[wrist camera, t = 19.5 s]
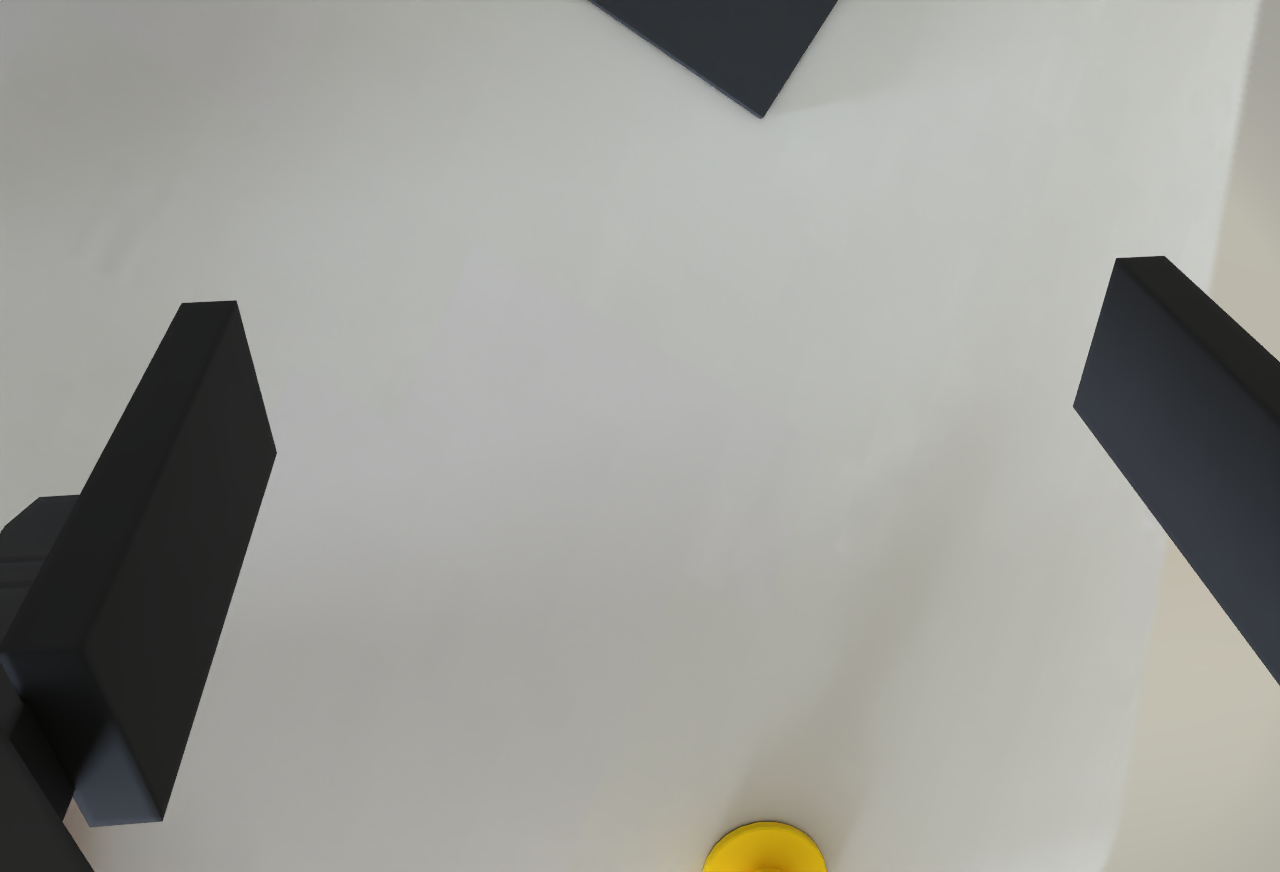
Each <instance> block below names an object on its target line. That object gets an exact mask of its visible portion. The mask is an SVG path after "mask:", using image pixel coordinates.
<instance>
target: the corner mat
mask: <svg viewBox="0 0 1280 872" xmlns="http://www.w3.org/2000/svg"><path fill="white" fill-rule="evenodd" d="M589 1H590V2H592V3H593V4H595V5H596V6H597V7H599V8H600V9H602V10H603V11H605V12H606V13H608V14H609V15H610V16H612V17H613V18H615V19H616V20H618V21H619V22H621V23H622V24H624V25H625V26H626V27H628V28H629V29H631V30H632V31H634V32H635V33H637V34H638V35H639V36H641V37H642V38H644V39H645V40H647V41H648V42H650V43H651V44H653V45H654V46H655V47H657V48H658V49H660V50H661V51H663V52H664V53H666V54H667V55H669V56H670V57H671V58H673V59H674V60H676V61H677V62H679V63H680V64H682V65H683V66H684V67H686V68H687V69H689V70H690V71H692V72H693V73H695V74H696V75H698V76H699V77H700V78H702V79H703V80H705V81H706V82H708V83H709V84H711V85H712V86H714V87H715V88H716V89H718V90H719V91H721V92H722V93H724V94H725V95H727V96H728V97H729V98H731V99H732V100H734V101H735V102H737V103H738V104H740V105H741V106H743V107H744V108H745V109H747V110H748V111H750V112H751V113H753V114H754V115H756V116H757V117H758V118H760V119H761V118H763V117H764V115H765V114H766V112H767V111H768V109H769V108H770V106H771V104H772V103H773V101H774V100H775V98H776V97H777V95H778V93H779V92H780V90H781V89H782V87H783V86H784V84H785V82H786V81H787V79H788V78H789V76H790V75H791V73H792V71H793V70H794V68H795V67H796V65H797V64H798V62H799V60H800V59H801V57H802V56H803V54H804V53H805V51H806V49H807V48H808V46H809V45H810V43H811V42H812V40H813V38H814V37H815V35H816V34H817V32H818V31H819V29H820V27H821V26H822V24H823V23H824V21H825V20H826V18H827V16H828V15H829V13H830V12H831V10H832V9H833V7H834V5H835V4H836V2H837V1H838V0H589Z"/></svg>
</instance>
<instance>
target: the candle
mask: <svg viewBox="0 0 1280 872" xmlns="http://www.w3.org/2000/svg"><path fill="white" fill-rule="evenodd" d="M702 872H827V869H826V865H825V861H824V858H823V856H822V854H821V852H820V850H819V849H818V847H817V845H816V844H815V842H814V841H813V840H811V839H810V838H809V837H808V836H807V835H806V834H805V833H804V832H802V831H800V830H798V829H796V828H794V827H792V826H790V825H787V824H782V823H777V822H756V823H753V824H749V825H745V826H742V827H740V828H738V829H736V830H734V831H732V832H731V833H729V834H727V835H726V836H725V837H724V838H723V839H721V840H720V841H719V842H718V843H717V844H716V845H715V846H714V848H713V849H712V851H711V852H710V854H709V855H708V857H707V859H706V862H705V865H704V868H703V871H702Z"/></svg>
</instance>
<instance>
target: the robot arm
mask: <svg viewBox="0 0 1280 872" xmlns="http://www.w3.org/2000/svg"><path fill="white" fill-rule="evenodd" d="M1073 407H1074V409H1075V410H1076V412H1077V413H1078V414H1079V416H1080V417H1081V418H1082V420H1083V421H1084V422H1085V424H1086V425H1087V426H1088V428H1089V429H1090V430H1091V432H1092V433H1093V434H1094V436H1095V437H1096V438H1097V440H1098V441H1099V443H1100V444H1101V445H1102V447H1103V448H1104V449H1105V451H1106V452H1107V453H1108V455H1109V456H1110V457H1111V459H1112V460H1113V461H1114V463H1115V464H1116V465H1117V467H1118V468H1119V469H1120V471H1121V472H1122V474H1123V475H1124V476H1125V478H1126V479H1127V480H1128V482H1129V483H1130V484H1131V486H1132V487H1133V488H1134V490H1135V491H1136V492H1137V494H1138V495H1139V496H1140V498H1141V499H1142V500H1143V502H1144V503H1145V505H1146V506H1147V507H1148V509H1149V510H1150V511H1151V513H1152V514H1153V515H1154V517H1155V518H1156V519H1157V521H1158V522H1159V523H1160V525H1161V526H1162V527H1163V529H1164V530H1165V532H1166V533H1167V534H1168V536H1169V537H1170V538H1171V540H1172V541H1173V542H1174V544H1175V545H1176V546H1177V548H1178V549H1179V550H1180V552H1181V553H1182V554H1183V556H1184V557H1185V558H1186V560H1187V561H1188V563H1189V564H1190V565H1191V567H1192V568H1193V569H1194V571H1195V572H1196V573H1197V574H1198V576H1199V577H1200V578H1201V580H1202V581H1203V582H1204V584H1205V585H1206V587H1207V588H1208V589H1209V591H1210V592H1211V594H1212V595H1213V596H1214V597H1215V599H1216V600H1217V602H1218V603H1219V604H1220V606H1221V607H1222V608H1223V610H1224V611H1225V612H1226V614H1227V615H1228V616H1229V618H1230V619H1231V620H1232V622H1233V623H1234V624H1235V626H1236V627H1237V629H1238V630H1239V631H1240V633H1241V634H1242V635H1243V636H1244V638H1245V639H1246V641H1247V642H1248V643H1249V645H1250V646H1251V647H1252V649H1253V650H1254V651H1255V653H1256V654H1257V656H1258V657H1259V658H1260V659H1261V661H1262V662H1263V664H1264V665H1265V666H1266V668H1267V669H1268V670H1269V672H1270V673H1271V674H1272V676H1273V677H1274V678H1275V680H1276V681H1277V683H1278V684H1279V685H1280V362H1279V361H1278V360H1277V359H1276V358H1275V357H1274V356H1272V355H1271V354H1270V353H1269V352H1268V351H1267V350H1266V349H1265V348H1264V347H1263V346H1262V345H1260V344H1259V343H1258V342H1257V341H1256V340H1255V339H1254V338H1253V337H1252V336H1250V334H1249V333H1247V332H1246V331H1245V330H1244V329H1243V328H1242V327H1241V326H1240V325H1239V324H1238V323H1237V322H1236V321H1234V320H1233V319H1232V318H1231V317H1230V316H1229V315H1228V314H1227V313H1226V312H1225V311H1223V309H1221V308H1220V307H1219V306H1218V305H1217V304H1216V303H1215V302H1214V301H1213V300H1212V299H1211V298H1210V297H1208V296H1207V295H1206V294H1205V293H1204V292H1203V291H1202V290H1201V289H1200V288H1199V287H1198V286H1197V285H1195V284H1194V283H1193V282H1192V281H1191V280H1190V279H1189V278H1188V277H1187V276H1186V275H1185V274H1183V273H1182V272H1181V271H1180V270H1179V269H1178V268H1177V267H1176V266H1175V265H1174V264H1173V263H1172V262H1170V261H1169V260H1168V259H1167V258H1166V257H1165V256H1153V257H1132V258H1116V261H1115V264H1114V267H1113V271H1112V274H1111V278H1110V281H1109V285H1108V288H1107V292H1106V295H1105V298H1104V302H1103V305H1102V309H1101V312H1100V316H1099V319H1098V322H1097V326H1096V329H1095V333H1094V336H1093V340H1092V343H1091V346H1090V350H1089V353H1088V357H1087V360H1086V364H1085V367H1084V371H1083V374H1082V377H1081V381H1080V384H1079V388H1078V391H1077V395H1076V398H1075V401H1074V405H1073ZM276 454H277V452H276V448H275V444H274V440H273V437H272V433H271V429H270V425H269V421H268V418H267V414H266V410H265V406H264V403H263V399H262V395H261V391H260V388H259V384H258V380H257V376H256V372H255V369H254V365H253V361H252V357H251V354H250V350H249V346H248V342H247V339H246V335H245V331H244V327H243V323H242V320H241V316H240V312H239V308H238V305H237V301H216V302H195V303H182V304H181V306H180V307H179V309H178V311H177V313H176V315H175V317H174V319H173V321H172V322H171V324H170V326H169V328H168V330H167V332H166V334H165V336H164V338H163V339H162V341H161V343H160V345H159V347H158V349H157V351H156V353H155V354H154V356H153V358H152V360H151V362H150V364H149V366H148V368H147V369H146V371H145V373H144V375H143V377H142V379H141V381H140V383H139V385H138V386H137V388H136V390H135V392H134V394H133V396H132V398H131V400H130V401H129V403H128V405H127V407H126V409H125V411H124V413H123V415H122V416H121V418H120V420H119V422H118V424H117V426H116V428H115V430H114V432H113V433H112V435H111V437H110V439H109V441H108V443H107V445H106V447H105V448H104V450H103V452H102V454H101V456H100V458H99V460H98V462H97V463H96V465H95V467H94V469H93V471H92V473H91V475H90V477H89V479H88V480H87V482H86V484H85V486H84V488H83V490H82V492H81V494H80V495H68V496H52V497H39V498H38V499H36V500H35V501H34V502H33V503H32V504H30V505H29V506H28V507H27V508H26V509H24V510H23V511H22V512H21V513H20V514H19V515H17V516H16V517H15V518H14V519H13V520H11V521H10V522H9V523H8V524H7V525H6V526H4V528H3V530H2V531H1V533H0V872H94V870H93V869H92V867H91V866H90V864H89V863H88V861H87V860H86V858H85V856H84V855H83V853H82V852H81V850H80V849H79V847H78V846H77V844H76V842H75V841H74V839H73V838H72V836H71V835H70V833H69V832H68V830H67V829H66V827H65V825H64V824H63V822H62V821H63V819H64V816H65V814H66V811H67V809H68V806H69V804H70V801H71V799H72V796H73V797H74V799H75V801H76V803H77V805H78V806H79V808H80V810H81V812H82V814H83V816H84V817H85V819H86V821H87V823H88V825H89V827H98V826H110V825H123V824H135V823H147V822H160V821H163V818H164V815H165V812H166V808H167V805H168V802H169V799H170V795H171V792H172V789H173V786H174V783H175V779H176V776H177V773H178V770H179V766H180V763H181V760H182V757H183V754H184V750H185V747H186V744H187V741H188V737H189V734H190V731H191V728H192V725H193V721H194V718H195V715H196V712H197V708H198V705H199V702H200V699H201V696H202V692H203V689H204V686H205V683H206V679H207V676H208V673H209V670H210V667H211V663H212V660H213V657H214V654H215V651H216V647H217V644H218V641H219V638H220V634H221V631H222V628H223V625H224V622H225V618H226V615H227V612H228V609H229V605H230V602H231V599H232V596H233V593H234V589H235V586H236V583H237V580H238V576H239V573H240V570H241V567H242V564H243V560H244V557H245V554H246V551H247V547H248V544H249V541H250V538H251V535H252V531H253V528H254V525H255V522H256V518H257V515H258V512H259V509H260V506H261V502H262V499H263V496H264V493H265V489H266V486H267V483H268V480H269V477H270V473H271V470H272V467H273V464H274V460H275V457H276Z"/></svg>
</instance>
